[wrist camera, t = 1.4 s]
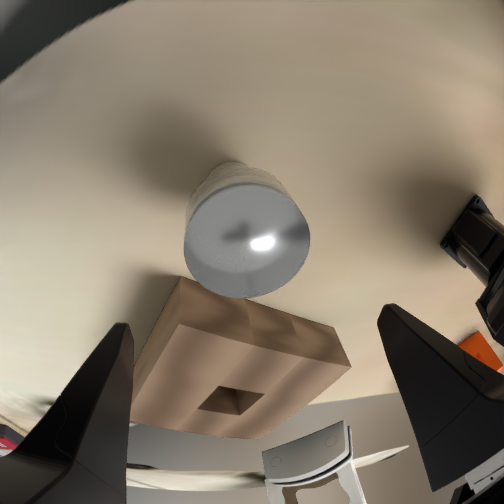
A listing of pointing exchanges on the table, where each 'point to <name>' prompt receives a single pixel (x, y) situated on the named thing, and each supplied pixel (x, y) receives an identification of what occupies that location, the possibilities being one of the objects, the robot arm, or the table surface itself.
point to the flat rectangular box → (8, 439)
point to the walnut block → (230, 365)
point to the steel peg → (244, 233)
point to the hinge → (309, 456)
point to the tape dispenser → (481, 351)
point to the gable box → (285, 498)
